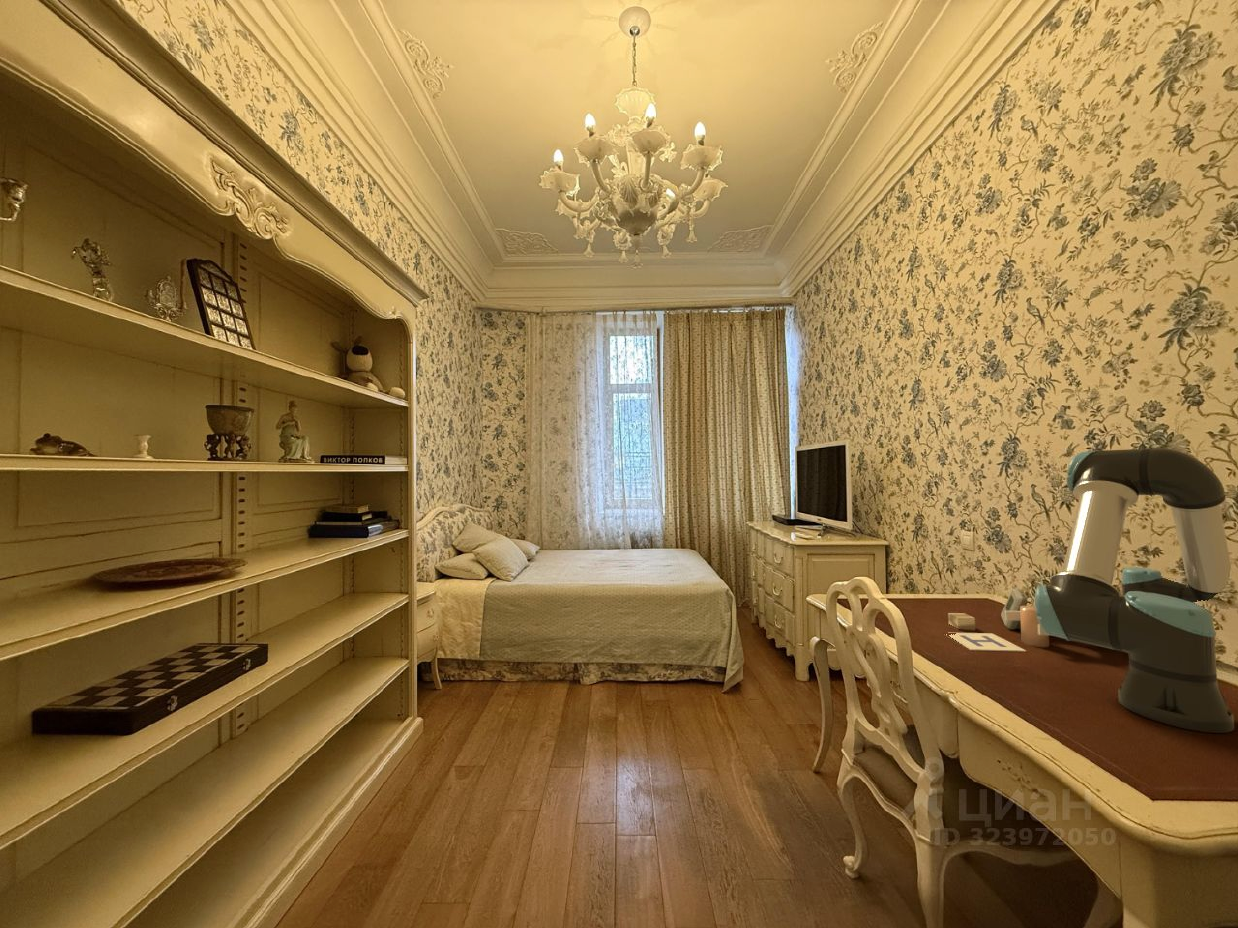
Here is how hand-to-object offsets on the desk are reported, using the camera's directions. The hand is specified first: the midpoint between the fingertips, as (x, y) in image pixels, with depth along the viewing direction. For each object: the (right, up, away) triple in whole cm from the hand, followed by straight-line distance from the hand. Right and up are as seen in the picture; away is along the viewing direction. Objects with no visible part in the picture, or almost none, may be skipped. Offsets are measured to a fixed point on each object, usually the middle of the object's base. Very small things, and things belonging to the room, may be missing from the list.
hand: (1021, 622), depth 135 cm
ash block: (-7, -7, +14) cm, 17 cm away
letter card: (-10, -6, +1) cm, 12 cm away
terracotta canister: (+4, -6, -1) cm, 7 cm away
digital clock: (+11, -6, +16) cm, 20 cm away
